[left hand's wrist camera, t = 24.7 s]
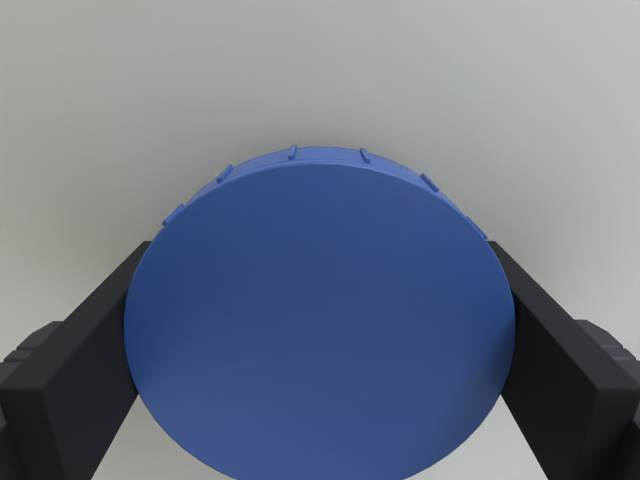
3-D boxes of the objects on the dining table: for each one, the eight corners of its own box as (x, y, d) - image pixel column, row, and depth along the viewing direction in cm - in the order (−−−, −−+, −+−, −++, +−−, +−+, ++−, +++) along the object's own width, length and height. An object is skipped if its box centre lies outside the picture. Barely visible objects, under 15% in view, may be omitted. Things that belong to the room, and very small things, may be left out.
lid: (87, 209, 11) (42, 237, 9) (454, 92, 10) (483, 98, 8) (224, 470, 14) (210, 526, 12) (514, 401, 13) (543, 452, 11)
